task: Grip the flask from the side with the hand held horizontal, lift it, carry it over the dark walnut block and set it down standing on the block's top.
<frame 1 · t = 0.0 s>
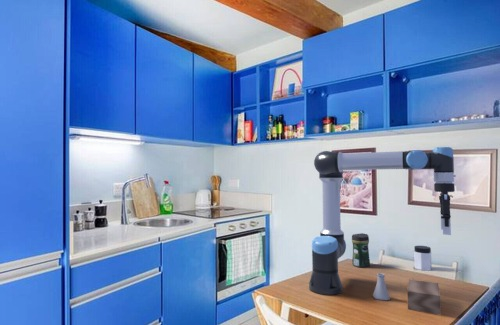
hand: (445, 232, 135), 28 cm above the table, tool pointing down, fingers open, 13 cm apart
walnut block: (423, 304, 128), on the table
flask: (381, 298, 135), on the table
coffee jar: (360, 265, 184), on the table
jar: (423, 268, 178), on the table
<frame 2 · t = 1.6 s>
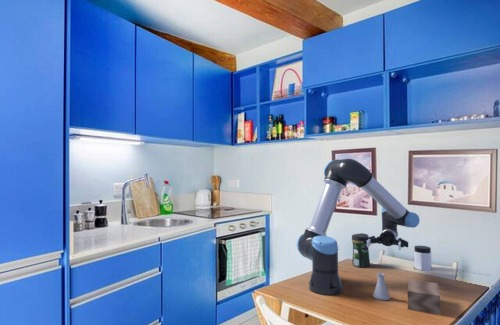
hand: (383, 245, 145), 20 cm above the table, tool horizontal, fingers open, 13 cm apart
nothing on the table moved.
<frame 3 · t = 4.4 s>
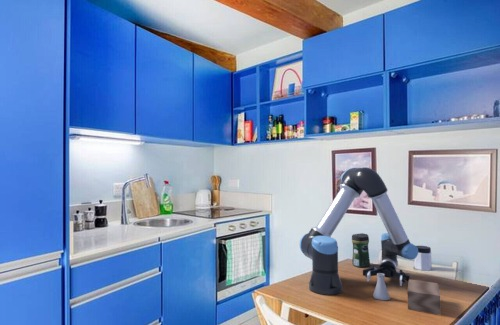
hand: (383, 280, 140), 6 cm above the table, tool horizontal, fingers open, 13 cm apart
nothing on the table moved.
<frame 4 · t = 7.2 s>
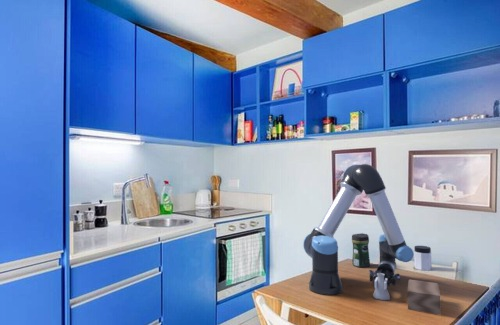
hand: (380, 285, 133), 6 cm above the table, tool horizontal, fingers closed on flask, 3 cm apart
flask: (381, 298, 135), on the table, touching gripper
everything else where it was.
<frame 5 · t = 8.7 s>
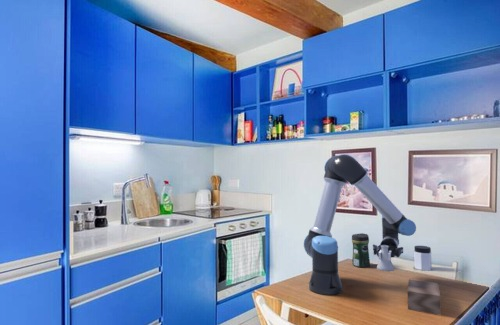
hand: (384, 256, 133), 18 cm above the table, tool horizontal, fingers closed on flask, 3 cm apart
flask: (385, 269, 135), point 12 cm above the table, touching gripper
everything else where it was.
when the fingers open (15 cm above the table, at t = 10.6 s): flask drops 2 cm, resting on walnut block.
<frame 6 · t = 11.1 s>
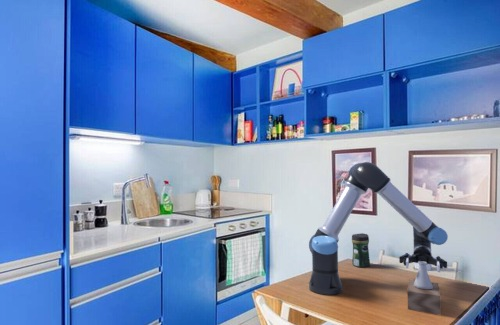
hand: (422, 266, 127), 15 cm above the table, tool horizontal, fingers open, 10 cm apart
flask: (423, 287, 128), point 7 cm above the table, touching walnut block
everything else where it was.
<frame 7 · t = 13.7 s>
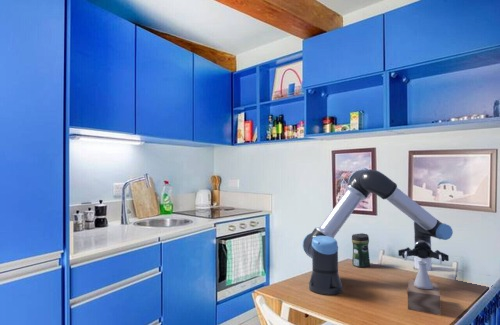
hand: (422, 259, 138), 16 cm above the table, tool horizontal, fingers open, 13 cm apart
nothing on the table moved.
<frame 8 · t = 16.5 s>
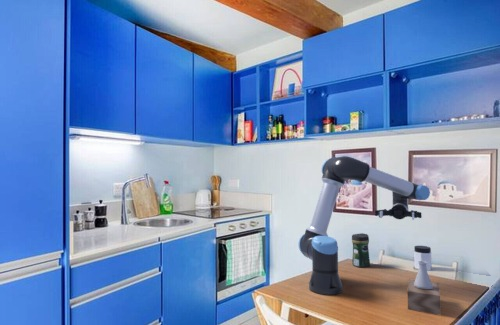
hand: (396, 215, 144), 34 cm above the table, tool horizontal, fingers open, 13 cm apart
nothing on the table moved.
at the end: flask inside the target area on the walnut block (0.4 cm from its centre), point 6.8 cm above the walnut block's base; flask tilted 0°; the gripper is holding nothing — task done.
